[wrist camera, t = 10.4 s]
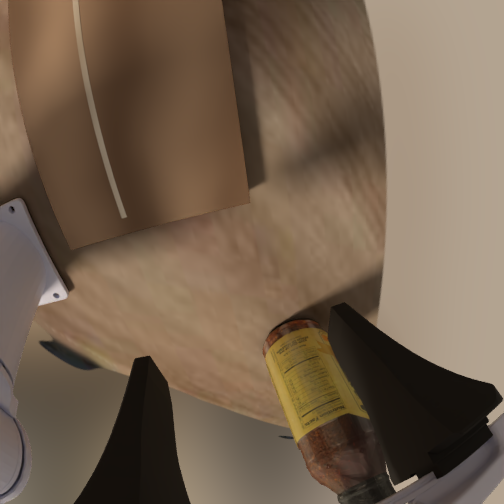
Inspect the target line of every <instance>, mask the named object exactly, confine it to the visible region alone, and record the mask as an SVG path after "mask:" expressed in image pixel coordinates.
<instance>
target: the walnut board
mask: <svg viewBox="0 0 504 504" xmlns="http://www.w3.org/2000/svg"><path fill="white" fill-rule="evenodd" d="M8 13H9V33H10V45H11V55H12V63H13V70H14V76H15V82H16V88H17V93H18V98H19V103H20V107H21V112H22V116H23V120H24V124H25V128H26V132H27V136H28V139H29V143H30V146H31V150H32V153H33V156H34V159H35V162H36V165H37V168H38V171H39V174H40V177H41V180H42V183H43V186H44V188H45V191H46V194H47V196H48V199H49V201H50V204H51V206H52V209H53V211H54V214H55V216H56V219H57V221H58V223H59V226H60V228H61V230H62V232H63V235H64V237H65V239H66V241H67V243H68V245H69V247H70V250H74V249H77V248H80V247H84V246H87V245H90V244H94V243H97V242H100V241H104V240H107V239H111V238H114V237H118V236H121V235H125V234H128V233H132V232H136V231H139V230H143V229H147V228H150V227H154V226H158V225H162V224H165V223H169V222H173V221H177V220H181V219H185V218H189V217H193V216H197V215H201V214H205V213H209V212H213V211H218V210H222V209H226V208H230V207H235V206H239V205H244V204H248V203H250V197H249V189H248V182H247V175H246V167H245V160H244V153H243V146H242V138H241V131H240V124H239V117H238V110H237V103H236V96H235V89H234V81H233V74H232V67H231V60H230V53H229V46H228V40H227V33H226V26H225V19H224V12H223V5H222V0H8Z"/></svg>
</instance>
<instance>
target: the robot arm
mask: <svg viewBox="0 0 504 504" xmlns="http://www.w3.org/2000/svg"><path fill="white" fill-rule="evenodd" d="M11 206H12V207H14V209H15V211H13V210H12V209H11ZM55 293H57V294H59V295H57V294H55ZM68 294H69V291H68V289H67V287H66V286H65V284H64V282H63V280H62V279H61V277H60V275H59V273H58V271H57V270H56V268H55V266H54V264H53V262H52V260H51V258H50V256H49V255H48V253H47V251H46V249H45V247H44V245H43V243H42V240H41V238H40V236H39V234H38V232H37V230H36V228H35V225H34V223H33V221H32V219H31V216H30V214H29V212H28V209H27V207H26V205H25V202H24V201H23V200H22V199H21V198H16V199H14V200H11V201H9V202H7V203H5V204H3V205H1V206H0V504H4V503H5V502H7V501H10V500H12V499H14V498H16V497H17V496H18V495H19V494H20V493H21V492H22V490H23V489H24V488H25V486H26V484H27V482H28V479H29V476H30V472H31V464H32V455H31V447H30V442H29V439H28V436H27V434H26V431H25V429H24V427H23V426H22V425H21V423H20V422H19V421H18V419H17V418H16V412H17V406H18V400H17V399H16V398H15V397H14V395H13V387H14V382H15V378H16V373H17V370H18V366H19V363H20V359H21V355H22V352H23V349H24V345H25V342H26V339H27V336H28V333H29V330H30V327H31V324H32V321H33V318H34V315H35V313H36V310H37V307H38V306H39V305H43V304H47V303H51V302H55V301H59V300H63V299H66V298H67V297H68ZM327 339H328V341H329V343H330V346H331V348H332V350H333V352H334V355H335V357H336V359H337V361H338V363H339V364H340V366H341V368H342V369H343V371H344V373H345V374H346V376H347V378H348V379H349V381H350V383H351V384H352V386H353V388H354V390H355V391H356V393H357V395H358V396H359V398H360V400H361V401H362V403H363V405H364V407H365V409H366V412H367V414H368V416H369V418H370V421H371V423H372V425H373V428H374V430H375V433H376V435H377V438H378V441H379V443H380V446H381V449H382V452H383V455H384V458H385V461H386V464H387V468H388V471H389V474H390V479H391V480H392V482H393V484H394V485H397V484H399V483H401V482H403V481H405V480H407V479H409V478H411V477H413V476H414V475H417V477H418V480H417V481H415V482H414V483H412V484H410V485H409V486H407V487H405V488H404V489H402V490H400V491H398V492H396V493H395V494H393V495H391V496H389V497H387V498H385V499H383V500H381V501H379V502H377V503H375V504H405V503H407V502H408V504H482V503H483V502H484V501H485V499H486V498H487V497H488V496H489V495H490V494H491V493H492V492H493V490H494V489H495V488H496V487H497V486H498V484H499V483H500V482H501V481H502V479H503V478H504V413H503V414H502V415H500V416H499V417H498V418H497V419H496V420H495V421H494V422H493V423H492V424H490V425H488V426H487V423H488V422H489V420H488V418H487V417H486V416H487V415H488V414H489V413H490V412H491V411H492V410H494V409H495V408H496V407H497V406H498V405H499V404H500V403H501V402H502V400H503V398H502V396H501V395H500V394H499V392H498V391H497V389H496V388H495V386H494V385H493V384H490V383H485V382H482V381H478V380H474V379H471V378H467V377H465V376H462V375H459V374H456V373H454V372H451V371H449V370H446V369H444V368H442V367H439V366H437V365H435V364H433V363H431V362H429V361H427V360H426V359H424V358H422V357H420V356H418V355H416V354H415V353H413V352H411V351H410V350H408V349H407V348H405V347H404V346H402V345H401V344H399V343H398V342H396V341H394V340H393V339H392V338H390V337H389V336H387V335H386V334H385V333H383V332H382V331H380V330H379V329H378V328H377V327H375V326H374V325H373V324H371V323H370V322H369V321H368V320H366V319H365V318H364V317H362V316H361V315H360V314H359V313H357V312H356V311H355V310H354V309H352V308H351V307H350V306H349V305H347V304H346V303H345V302H344V303H341V304H338V305H335V306H333V307H331V311H330V321H329V330H328V338H327ZM74 504H191V503H190V501H189V498H188V495H187V492H186V488H185V485H184V481H183V478H182V474H181V470H180V467H179V462H178V457H177V450H176V441H175V431H174V421H173V410H172V402H171V397H170V392H169V387H168V382H167V381H166V379H165V378H164V376H163V375H162V373H161V372H160V370H159V369H158V367H157V366H156V364H155V363H154V361H153V360H152V358H151V357H150V356H145V357H140V358H135V360H134V362H133V366H132V370H131V373H130V377H129V381H128V384H127V387H126V391H125V394H124V397H123V401H122V404H121V407H120V410H119V413H118V416H117V419H116V422H115V424H114V427H113V430H112V433H111V435H110V438H109V441H108V443H107V445H106V447H105V450H104V452H103V454H102V456H101V459H100V460H99V463H98V465H97V467H96V468H95V471H94V472H93V474H92V476H91V478H90V479H89V481H88V483H87V484H86V486H85V488H84V489H83V491H82V493H81V495H80V496H79V497H78V498H77V500H76V501H75V503H74Z"/></svg>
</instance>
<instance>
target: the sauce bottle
mask: <svg viewBox="0 0 504 504" xmlns="http://www.w3.org/2000/svg"><path fill="white" fill-rule="evenodd" d="M327 338H328V334H327V333H326V332H325V331H323V330H322V328H321V327H320V325H319V324H318V323H317V322H315V321H313V320H310V319H307V320H294V321H291V322H288V323H285V324H283V325H281V326H280V327H277V328H276V329H275V330H274V331H272V332H271V333H269V336H268V337H267V339H266V341H265V343H264V347H263V355H264V357H265V360H266V363H267V364H266V366H267V368H268V371H269V374H270V377H271V380H272V382H273V385H274V388H275V390H276V393H277V395H278V398H279V401H280V403H281V406H282V408H283V411H284V414H285V416H286V419H287V421H288V424H289V427H290V429H291V432H292V434H293V437H294V439H295V442H296V444H297V447H298V448H299V450H301V452H302V455H303V458H304V459H305V462H306V466H307V469H308V470H309V472H310V474H311V476H312V477H313V478H314V479H316V480H317V481H318V482H319V483H320V484H321V485H324V486H326V487H328V488H329V489H331V490H332V491H333V492H335V493H336V494H337V495H338V501H339V503H341V504H375V503H377V502H379V501H381V500H383V499H385V498H387V497H389V496H391V495H393V494H395V493H396V491H395V490H394V488H393V487H392V484H391V482H390V480H389V475H388V474H387V472H386V463H385V458H384V455H383V452H382V449H381V446H380V443H379V441H378V438H377V435H376V433H375V430H374V428H373V425H372V423H371V421H370V418H369V416H368V414H367V412H366V409H365V407H364V405H363V403H362V401H361V400H360V398H359V396H358V395H357V393H356V391H355V390H354V388H353V386H352V384H351V383H350V381H349V379H348V378H347V376H346V374H345V373H344V371H343V369H342V368H341V366H340V364H339V363H338V361H337V359H336V357H335V355H334V352H333V350H332V348H331V346H330V343H329V341H328V339H327Z"/></svg>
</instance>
